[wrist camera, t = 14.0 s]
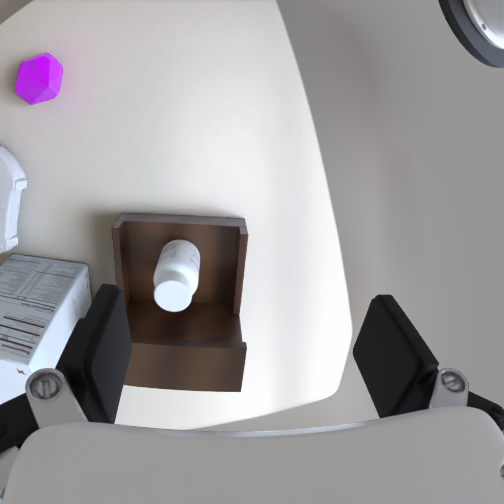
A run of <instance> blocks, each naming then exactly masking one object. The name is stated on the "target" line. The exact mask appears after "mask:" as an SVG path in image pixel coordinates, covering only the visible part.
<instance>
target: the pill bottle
mask: <svg viewBox="0 0 504 504" xmlns="http://www.w3.org/2000/svg"><path fill="white" fill-rule="evenodd" d="M199 267H200V254H199V251H198V250H197V248H196V247H195V246H194V245H193V244H192V243H190V242H188V241H186V240H173V241H171V242H169V243H167V244H166V245H165V246H164V247H163V249H162V251H161V254H160V257H159V260H158V263H157V267H156V270H155V273H154V285H155V290H154V298H155V301H156V303H157V304H158V305H159V306H160V307H161V308H163V309H165V310H167V311H171V312H178V311H182V310H184V309H185V308H187V307H188V306H189V304H190V302H191V299H192V295H193V294H194V292H195V291H196V289H197V286H198V278H199Z"/></svg>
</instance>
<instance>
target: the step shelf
mask: <svg viewBox="0 0 504 504" xmlns="http://www.w3.org/2000/svg"><path fill="white" fill-rule="evenodd" d="M112 240H113V251H114V262H115V271H116V280H117V286H118V288H119V289H121V290H123V293H124V300H125V306H126V313H127V319H128V325H129V331H130V337H131V342H132V353H131V357H130V361H129V365H128V368H127V372H126V376H125V380H124V384H123V385H128V386H137V387H147V388H159V389H172V390H189V391H215V392H241V387H242V380H243V372H244V365H245V358H246V351H247V346H246V342H242V333H241V325H240V316H239V314H240V305H241V296H242V287H243V278H244V269H245V260H246V251H247V242H248V232H247V227H246V222H245V219H240V218H224V217H206V216H187V215H166V214H142V213H122V215H121V216H120V217H119V219H118V220H117V221H116V223H115V224H114V225H113V227H112ZM173 240H186V241H188V242H190V243H192V244H193V245H194V246H195V247H196V248H197V250H198V251H199V254H200V267H199V278H198V286H197V289H196V291H195V292H194V294H193V295H192V299H191V302H190V304H189V306H188V307H187V308H185V309H184V310H182V311H178V312H171V311H167V310H165V309H163V308H161V307H160V306H159V305H158V304H157V303H156V301H155V298H154V290H155V285H154V273H155V270H156V267H157V263H158V260H159V257H160V254H161V251H162V249H163V247H164V246H165V245H166V244H167V243H169V242H171V241H173Z"/></svg>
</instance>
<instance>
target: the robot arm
mask: <svg viewBox="0 0 504 504" xmlns="http://www.w3.org/2000/svg"><path fill="white" fill-rule="evenodd" d="M463 2H464V5H465V8H466V10H467V13H468V15H469V17H470V19H471V21H472V22H473V24H474V25H475V27H476V28H477V30H478V31H479V32H480V34H481V35H482V36H483V37H484V38H485V39H486V40H487V41H488V42H489V43H491V44H492V45H493V46H495V47H497V48H500V49H504V0H463ZM131 353H132V342H131V337H130V331H129V325H128V319H127V313H126V306H125V300H124V293H123V290H121V289H119V288H118V286H117V285H109V284H102V285H101V287H100V289H99V290H98V292H97V294H96V296H95V298H94V300H93V302H92V304H91V306H90V308H89V310H88V312H87V314H86V316H85V318H82V317H81V318H79V320H78V321H77V323H76V325H75V327H74V329H73V331H72V333H71V335H70V337H69V339H68V341H67V343H66V345H65V347H64V349H63V352H62V354H61V356H60V358H59V360H58V362H57V365H56V367H55V369H53V368H43V369H39V370H37V371H35V372H33V373H32V374H31V375H30V376H29V378H28V379H27V381H26V385H25V390H26V392H25V393H23V394H21V395H19V396H17V397H15V398H13V399H11V400H8V401H6V402H4V403H2V404H0V504H504V409H502V407H501V406H499V405H498V404H496V403H493V402H491V401H489V400H487V399H485V398H483V397H480V396H478V395H476V394H474V393H472V392H470V391H469V383H468V381H467V379H466V377H465V376H464V375H463V374H462V373H461V372H459V371H457V370H456V369H453V368H444V369H441V370H440V371H439V370H438V369H437V367H438V365H439V363H438V361H437V360H436V358H435V357H434V355H433V354H432V352H431V351H430V349H429V348H428V346H427V345H426V343H425V342H424V340H423V339H422V337H421V336H420V334H419V333H418V331H417V330H416V329H415V327H414V326H413V324H412V323H411V321H410V320H409V319H408V317H407V316H406V314H405V313H404V311H403V310H402V309H401V307H400V306H399V305H398V303H397V302H396V300H395V299H394V298H393V296H392V295H377V296H376V297H375V298H374V299H372V301H371V303H370V306H369V309H368V312H367V314H366V317H365V319H364V322H363V325H362V327H361V330H360V333H359V335H358V338H357V340H356V343H355V345H354V348H353V356H354V359H355V361H356V363H357V366H358V368H359V370H360V372H361V375H362V377H363V379H364V382H365V384H366V386H367V389H368V391H369V393H370V396H371V398H372V400H373V403H374V405H375V407H376V410H377V412H378V415H379V417H380V419H375V420H368V421H363V422H356V423H349V424H342V425H333V426H325V427H316V428H305V429H293V430H278V431H277V430H276V431H247V432H214V431H189V430H173V429H159V428H147V427H137V426H128V425H118V424H114V422H115V418H116V414H117V409H118V405H119V401H120V397H121V392H122V388H123V384H124V380H125V376H126V372H127V368H128V365H129V361H130V357H131ZM5 487H6V488H5ZM4 488H5V492H4V496H3V498H2V494H3V490H4Z"/></svg>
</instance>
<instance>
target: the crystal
mask: <svg viewBox="0 0 504 504" xmlns="http://www.w3.org/2000/svg"><path fill="white" fill-rule="evenodd" d="M62 73H63V68H62V66H61V64H60V63H59V62H58V61H57V60H56V59H55V58H54V57H53V56H52V55H51V54H49V53H43V54H41V55H38V56H35V57H33V58H31V59H28V60H25V61H23V62H22V63H21V64H20V66H19V69H18V74H17V79H16V94H17V95H19V96H20V97H21V98H23V99H24V100H25V101H27V102H28V103H29V104H31V105H33V104H36V103H40V102H43V101H46V100H50V99H54V98H55V97H56V95H57V94H58V92H59V90H60V84H61V78H62Z"/></svg>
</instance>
